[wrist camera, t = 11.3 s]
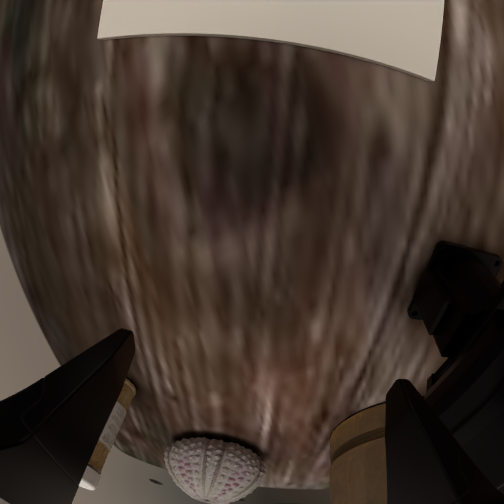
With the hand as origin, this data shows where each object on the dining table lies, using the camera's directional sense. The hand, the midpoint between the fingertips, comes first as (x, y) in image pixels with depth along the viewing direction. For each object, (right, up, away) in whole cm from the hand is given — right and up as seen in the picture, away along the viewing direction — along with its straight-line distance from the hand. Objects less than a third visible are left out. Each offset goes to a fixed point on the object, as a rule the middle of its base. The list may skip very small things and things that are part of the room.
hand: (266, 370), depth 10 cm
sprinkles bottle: (-15, -11, +22) cm, 29 cm away
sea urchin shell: (-5, -23, +28) cm, 36 cm away
